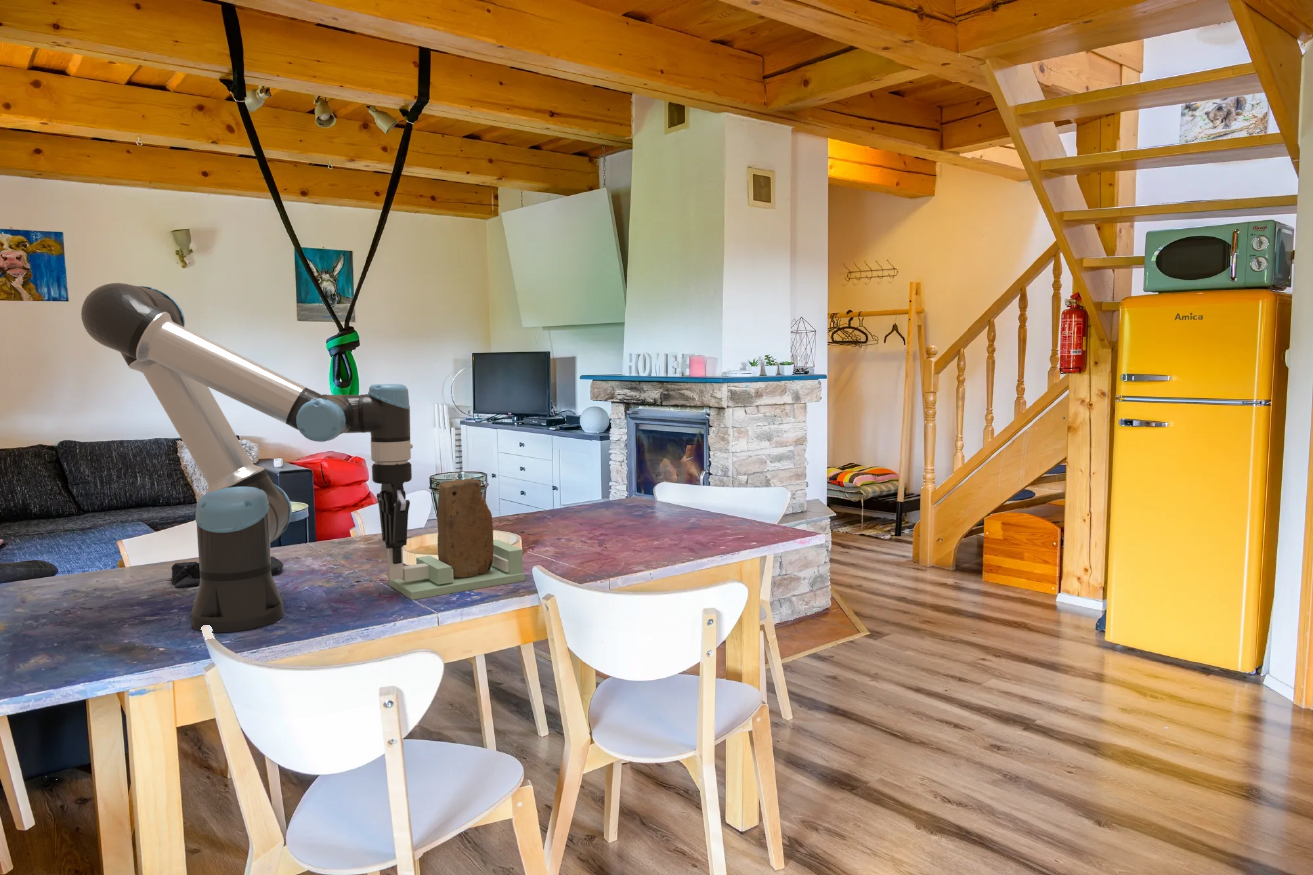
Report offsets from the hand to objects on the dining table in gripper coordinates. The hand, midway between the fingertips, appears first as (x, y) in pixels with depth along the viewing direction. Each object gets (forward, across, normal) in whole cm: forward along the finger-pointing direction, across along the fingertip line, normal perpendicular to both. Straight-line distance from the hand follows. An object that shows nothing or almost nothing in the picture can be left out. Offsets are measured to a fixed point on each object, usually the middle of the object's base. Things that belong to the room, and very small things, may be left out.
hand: (395, 578), depth 177 cm
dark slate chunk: (+4, +35, +25) cm, 43 cm away
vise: (+3, 0, -14) cm, 14 cm away
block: (+2, 0, -15) cm, 15 cm away
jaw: (+1, 0, -6) cm, 6 cm away
